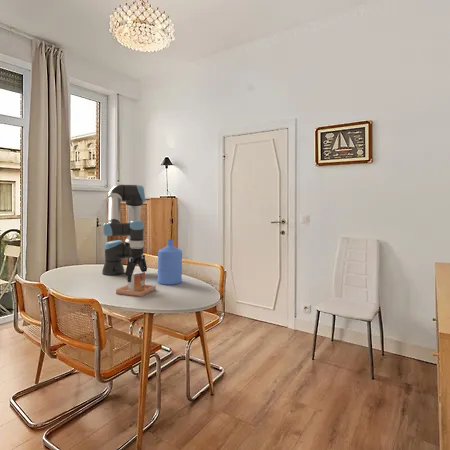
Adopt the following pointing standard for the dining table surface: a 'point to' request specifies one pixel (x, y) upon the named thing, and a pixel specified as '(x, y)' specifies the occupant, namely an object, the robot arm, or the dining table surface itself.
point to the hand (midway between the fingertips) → (136, 285)
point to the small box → (138, 281)
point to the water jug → (169, 265)
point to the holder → (125, 291)
